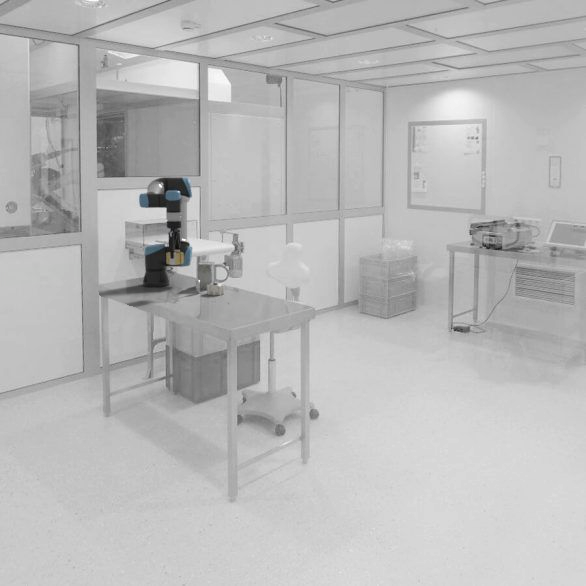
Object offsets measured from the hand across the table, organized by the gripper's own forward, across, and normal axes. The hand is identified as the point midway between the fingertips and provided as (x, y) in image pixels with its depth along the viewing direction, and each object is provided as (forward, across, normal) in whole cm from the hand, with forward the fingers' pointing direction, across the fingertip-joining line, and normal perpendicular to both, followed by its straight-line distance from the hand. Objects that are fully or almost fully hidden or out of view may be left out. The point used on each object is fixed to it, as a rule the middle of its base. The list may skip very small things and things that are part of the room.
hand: (175, 263), depth 348 cm
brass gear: (0, 0, 0) cm, 0 cm away
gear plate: (+17, 0, -17) cm, 24 cm away
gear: (+16, 0, -21) cm, 27 cm away
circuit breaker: (+18, +20, -13) cm, 29 cm away
